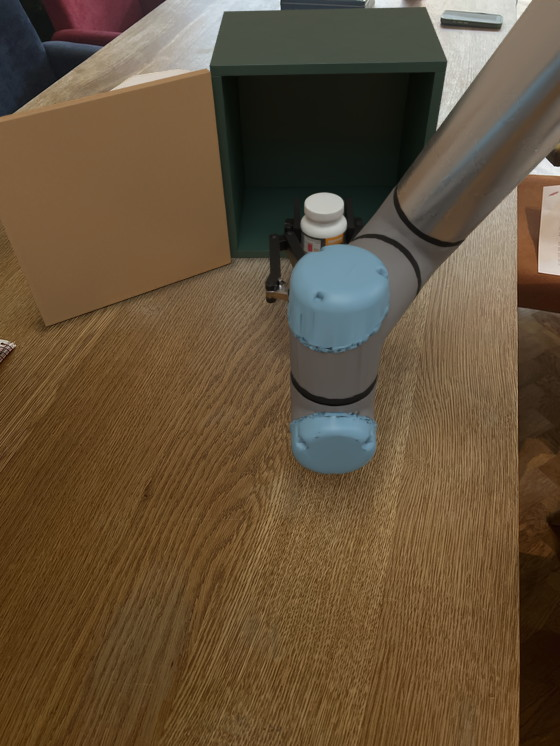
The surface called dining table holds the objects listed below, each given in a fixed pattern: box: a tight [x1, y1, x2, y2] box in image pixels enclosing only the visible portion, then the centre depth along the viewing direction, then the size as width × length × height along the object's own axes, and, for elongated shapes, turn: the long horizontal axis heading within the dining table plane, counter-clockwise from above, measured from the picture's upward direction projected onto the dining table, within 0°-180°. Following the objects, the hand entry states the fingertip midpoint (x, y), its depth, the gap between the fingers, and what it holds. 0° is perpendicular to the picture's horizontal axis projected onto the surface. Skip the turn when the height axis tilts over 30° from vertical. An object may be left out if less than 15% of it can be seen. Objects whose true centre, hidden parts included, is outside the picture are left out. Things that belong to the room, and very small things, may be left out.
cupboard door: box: [0, 68, 232, 328], centre depth 75 cm, size 7×26×26 cm, turn 118°
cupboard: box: [209, 6, 449, 259], centre depth 84 cm, size 18×26×26 cm
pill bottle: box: [300, 193, 347, 254], centre depth 76 cm, size 6×6×10 cm
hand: (322, 207), depth 78 cm, fingers closed on pill bottle, 6 cm apart
